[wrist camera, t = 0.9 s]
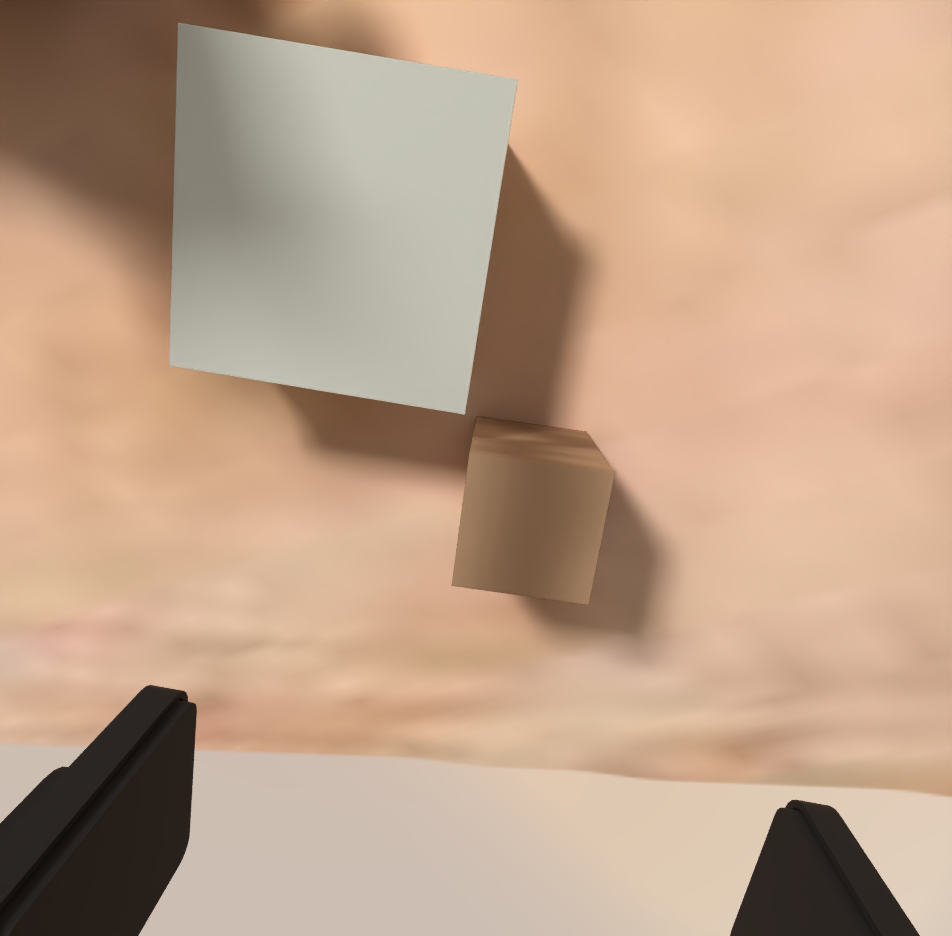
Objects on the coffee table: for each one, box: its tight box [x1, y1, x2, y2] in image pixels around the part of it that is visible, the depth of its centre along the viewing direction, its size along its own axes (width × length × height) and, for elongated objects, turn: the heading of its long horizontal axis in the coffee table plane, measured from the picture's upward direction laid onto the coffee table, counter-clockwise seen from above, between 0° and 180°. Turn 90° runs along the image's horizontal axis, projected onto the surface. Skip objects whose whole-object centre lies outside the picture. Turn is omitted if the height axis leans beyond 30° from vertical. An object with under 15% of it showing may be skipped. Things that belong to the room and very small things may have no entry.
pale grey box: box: [169, 23, 518, 415], centre depth 23 cm, size 11×11×6 cm
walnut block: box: [452, 417, 615, 605], centre depth 25 cm, size 5×5×7 cm
